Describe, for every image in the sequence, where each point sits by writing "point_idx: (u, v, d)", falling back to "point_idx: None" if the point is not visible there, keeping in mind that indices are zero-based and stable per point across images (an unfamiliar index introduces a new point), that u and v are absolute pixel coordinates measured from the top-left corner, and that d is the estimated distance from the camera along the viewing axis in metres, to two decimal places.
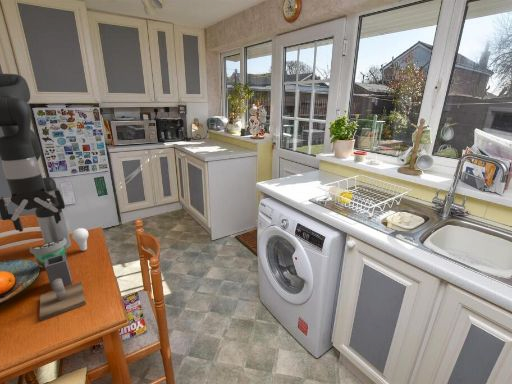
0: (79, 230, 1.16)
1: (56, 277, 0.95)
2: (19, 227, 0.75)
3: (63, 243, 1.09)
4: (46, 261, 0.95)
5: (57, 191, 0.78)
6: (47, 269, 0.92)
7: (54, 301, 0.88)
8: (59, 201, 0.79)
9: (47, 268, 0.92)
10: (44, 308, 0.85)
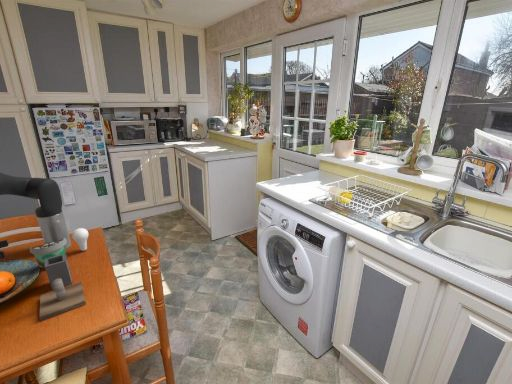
0: (79, 230, 1.16)
1: (56, 277, 0.95)
2: None
3: (63, 243, 1.09)
4: (46, 261, 0.95)
5: None
6: (47, 269, 0.92)
7: (54, 301, 0.88)
8: None
9: (47, 268, 0.92)
10: (44, 308, 0.85)
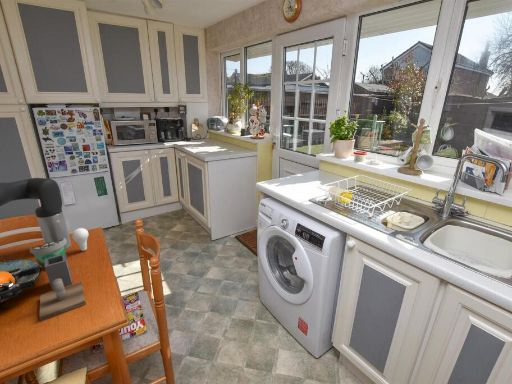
0: (79, 230, 1.16)
1: (56, 277, 0.95)
2: None
3: (63, 243, 1.09)
4: (46, 261, 0.95)
5: None
6: (47, 269, 0.92)
7: (54, 301, 0.88)
8: None
9: (47, 268, 0.92)
10: (44, 308, 0.85)
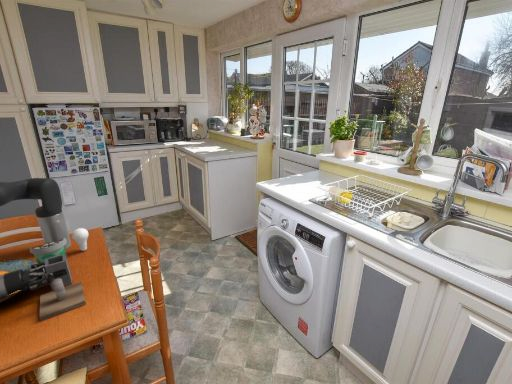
0: (79, 230, 1.16)
1: None
2: None
3: (63, 243, 1.09)
4: (46, 261, 0.95)
5: None
6: (47, 269, 0.92)
7: (54, 301, 0.88)
8: None
9: (47, 268, 0.92)
10: (44, 308, 0.85)
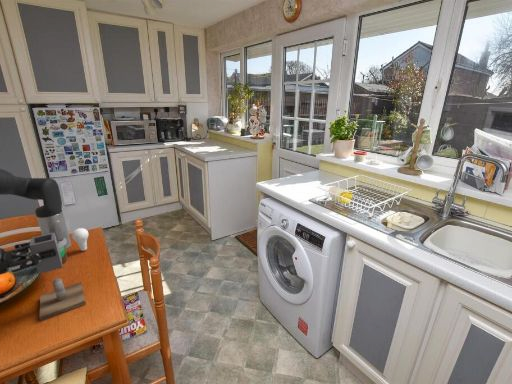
0: (79, 230, 1.16)
1: (43, 259, 0.81)
2: None
3: (63, 243, 1.09)
4: (32, 240, 0.81)
5: None
6: (32, 248, 0.79)
7: (54, 301, 0.88)
8: None
9: (33, 247, 0.79)
10: (44, 308, 0.85)
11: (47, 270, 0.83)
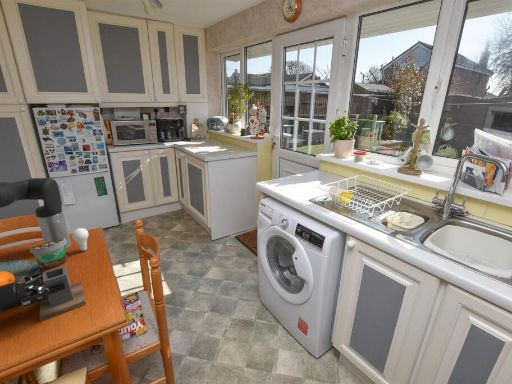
0: (79, 230, 1.16)
1: (56, 292, 0.85)
2: None
3: (63, 243, 1.09)
4: (44, 275, 0.85)
5: None
6: (46, 284, 0.83)
7: None
8: None
9: (46, 283, 0.83)
10: (44, 308, 0.85)
11: (59, 303, 0.87)
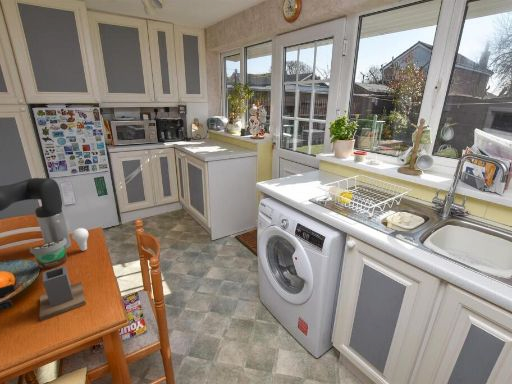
0: (79, 230, 1.16)
1: (56, 292, 0.85)
2: None
3: (63, 243, 1.09)
4: (44, 275, 0.85)
5: None
6: (46, 284, 0.83)
7: None
8: None
9: (46, 283, 0.83)
10: (44, 308, 0.85)
11: (59, 303, 0.87)
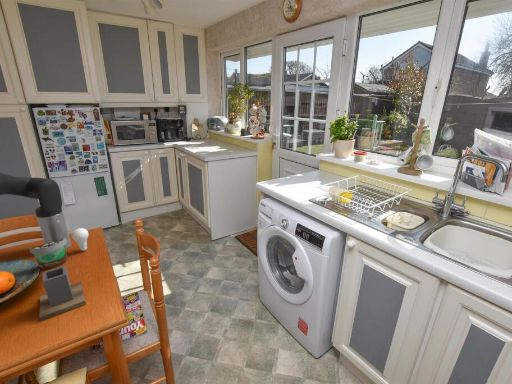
0: (79, 230, 1.16)
1: (56, 292, 0.85)
2: None
3: (63, 243, 1.09)
4: (44, 275, 0.85)
5: None
6: (46, 284, 0.83)
7: None
8: None
9: (46, 283, 0.83)
10: (44, 308, 0.85)
11: (59, 303, 0.87)
